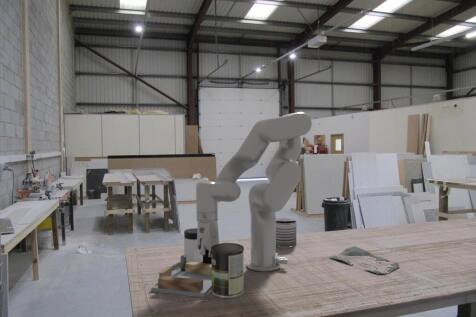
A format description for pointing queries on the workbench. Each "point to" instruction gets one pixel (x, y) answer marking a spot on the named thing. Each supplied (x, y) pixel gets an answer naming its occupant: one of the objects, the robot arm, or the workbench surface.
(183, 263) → the pivot pin
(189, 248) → the jar
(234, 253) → the coffee can
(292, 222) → the can
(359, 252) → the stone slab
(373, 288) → the workbench surface
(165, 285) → the fixed rail
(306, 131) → the robot arm
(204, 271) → the oak leg
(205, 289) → the jig board
